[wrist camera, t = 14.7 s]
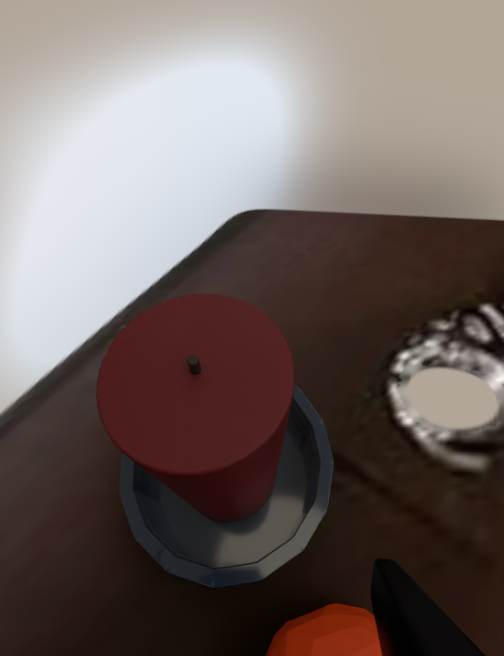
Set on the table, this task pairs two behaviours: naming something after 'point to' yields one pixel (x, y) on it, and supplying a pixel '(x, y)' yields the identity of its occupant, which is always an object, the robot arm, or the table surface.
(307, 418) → the blue round dish
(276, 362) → the candle
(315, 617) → the pumpkin
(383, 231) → the table surface
